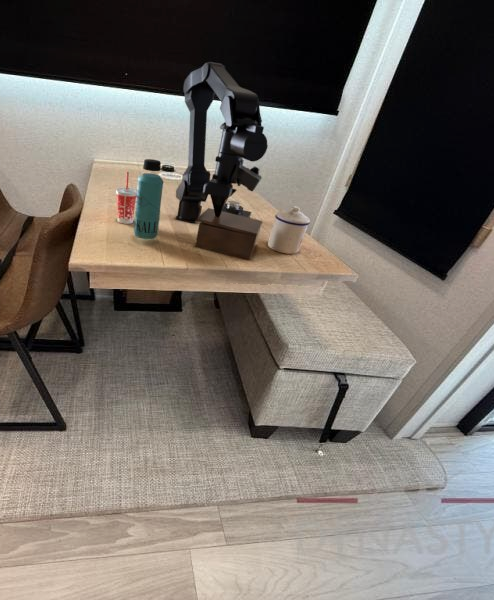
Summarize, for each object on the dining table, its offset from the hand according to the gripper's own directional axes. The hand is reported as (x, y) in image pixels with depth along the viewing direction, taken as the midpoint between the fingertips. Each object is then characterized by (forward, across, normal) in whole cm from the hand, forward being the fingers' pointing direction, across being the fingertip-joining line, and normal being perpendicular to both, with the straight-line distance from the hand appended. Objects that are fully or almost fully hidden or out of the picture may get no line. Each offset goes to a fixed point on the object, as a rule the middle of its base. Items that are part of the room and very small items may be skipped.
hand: (217, 216), depth 87 cm
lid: (+1, 0, -4) cm, 4 cm away
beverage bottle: (+8, -10, +16) cm, 20 cm away
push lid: (+4, +26, 0) cm, 26 cm away
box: (+7, 0, -4) cm, 8 cm away
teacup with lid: (+8, +10, -18) cm, 22 cm away
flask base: (+7, +26, 0) cm, 27 cm away
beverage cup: (+8, 0, +27) cm, 28 cm away
